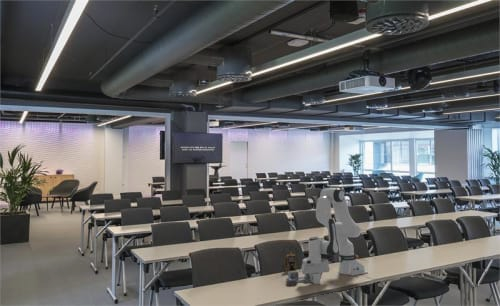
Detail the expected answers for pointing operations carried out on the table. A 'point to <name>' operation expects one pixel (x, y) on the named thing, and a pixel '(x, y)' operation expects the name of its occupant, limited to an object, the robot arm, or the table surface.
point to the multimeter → (291, 261)
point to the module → (316, 278)
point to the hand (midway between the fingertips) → (315, 279)
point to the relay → (291, 282)
